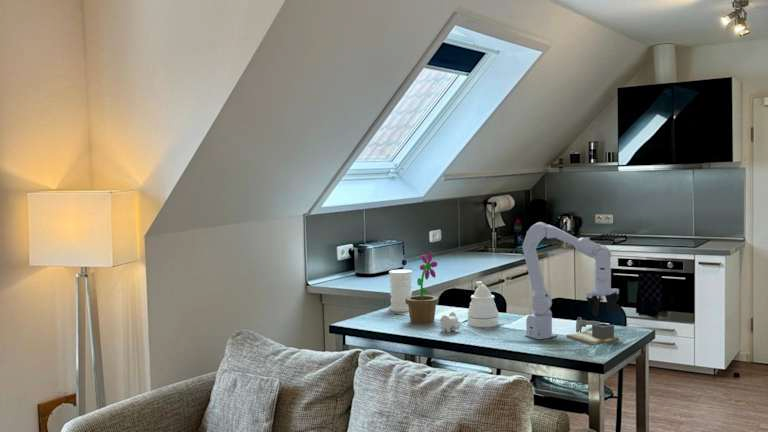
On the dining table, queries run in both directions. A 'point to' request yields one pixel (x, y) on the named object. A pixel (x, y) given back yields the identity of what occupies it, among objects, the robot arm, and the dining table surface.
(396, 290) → the decorative container
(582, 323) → the caliper
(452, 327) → the elephant figurine
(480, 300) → the honey pot
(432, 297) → the flowerpot
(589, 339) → the post board
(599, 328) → the collar
